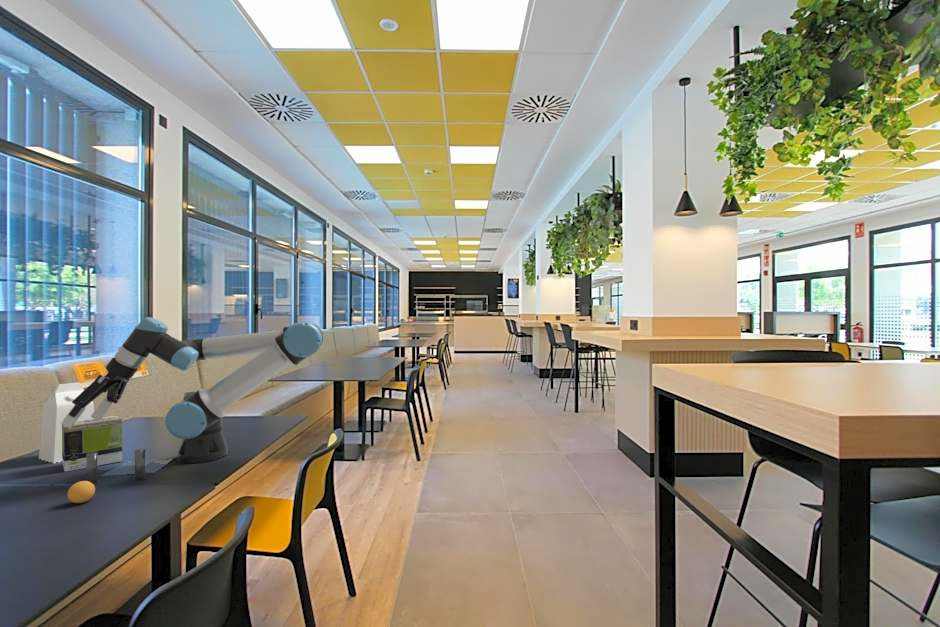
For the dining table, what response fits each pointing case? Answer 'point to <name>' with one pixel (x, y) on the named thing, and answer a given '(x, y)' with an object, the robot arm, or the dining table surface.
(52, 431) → the milk
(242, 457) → the dining table surface
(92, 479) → the outer post
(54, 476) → the dining table surface
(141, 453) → the inner post
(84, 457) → the tea box
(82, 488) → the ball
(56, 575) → the dining table surface
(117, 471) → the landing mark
